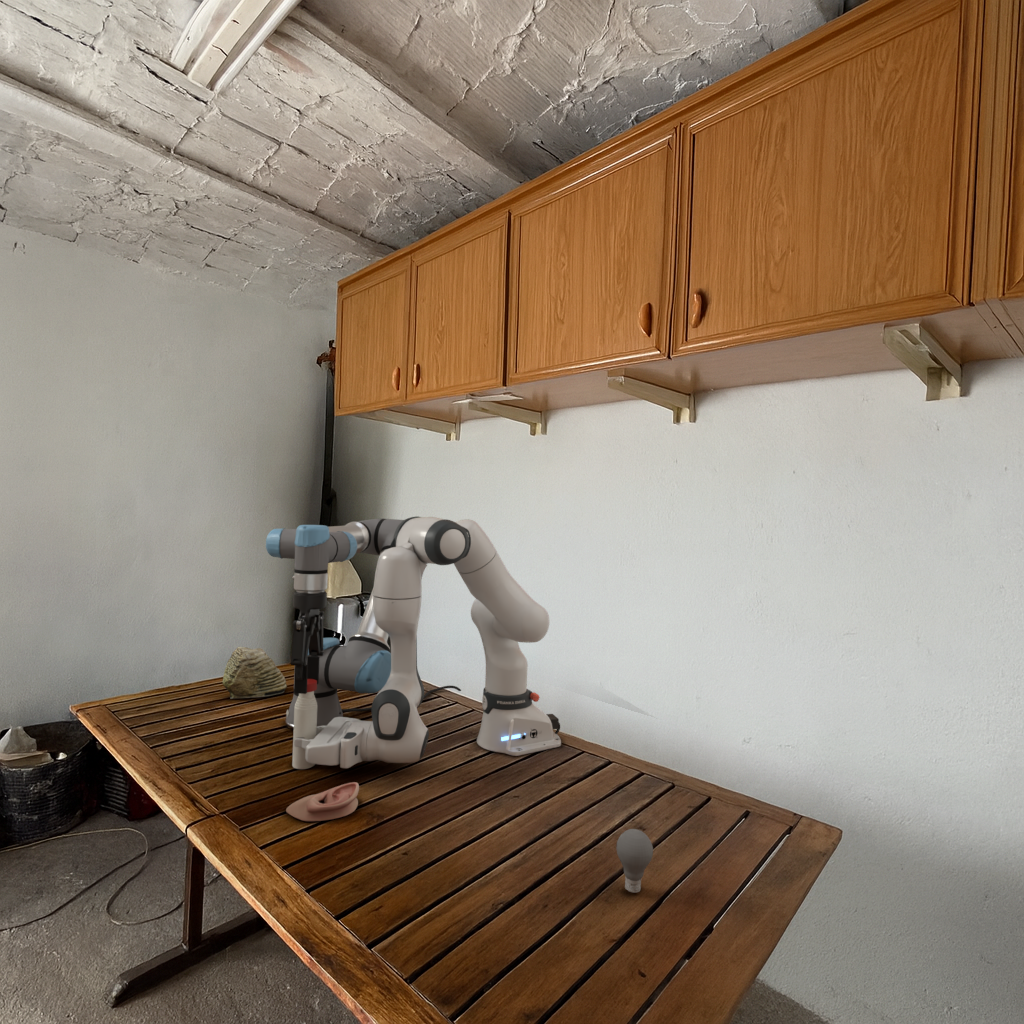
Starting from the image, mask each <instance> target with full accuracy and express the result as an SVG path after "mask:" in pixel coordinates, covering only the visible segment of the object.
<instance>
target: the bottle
mask: <svg viewBox="0 0 1024 1024" xmlns="http://www.w3.org/2000/svg"><path fill="white" fill-rule="evenodd" d="M316 730H317V702H316V698H315V695H314V691H312V692H307V693H306V694H300V693H299V696H298V698H297V701H296V703H295V706H294V730H292V731H293V736H292V759H291V761H292V762H291V766H292V768H293V769H296V770H307V769H310V768H313V767H314V766H316V764H312V763H309V762H307V761H306V760H305V753H306V749H304V748H302V747H295V745H294V742H295V739H296V738H298V737H304V739H307V740H310V739H314V738H315V737H316V736H317V735H316Z"/></svg>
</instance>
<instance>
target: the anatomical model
mask: <svg viewBox="0 0 1024 1024" xmlns="http://www.w3.org/2000/svg"><path fill="white" fill-rule="evenodd" d="M359 792H360V785H359V783H358V782H355V781H352V782H347V783H344V784H341V785H338V786H335V787H332V788H329V789H327V790H324V791H321V792H319V793H316V794H311V795H307V796H304V797H302V798H300V799H298V800H296V801H294V802H293V803H291V804H289V806H287V807H286V809H285V812H286V813H287V814H288V815H289V816H291V817H293V818H295V819H297V820H300V821H303V822H321V821H329V820H334V819H339V818H342V817H346V816H348V815H351V814H353V812H355V811H356V809H357V808H358V805H359V799H358V798H357V796H358V795H359Z"/></svg>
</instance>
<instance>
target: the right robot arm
mask: <svg viewBox="0 0 1024 1024" xmlns="http://www.w3.org/2000/svg"><path fill="white" fill-rule="evenodd" d="M403 520H404V521H402V522H401V523H400V524H399V525H398V527H397V529H396V531H395V533H394V537H393V540H392V542H391V548H389V549H387V550H385V551H383V552H382V553H381V554H380V556H379V555H378V556H379V557H378V559H377V562H376V567H375V573H374V580H373V587H374V590H373V589H372V590H373V610H374V617H375V622H376V624H377V625H378V626H379V627H380V628H381V629H382V630H383V631H385V632H387V633H388V635H389V636H388V638H389V640H390V653H391V673H390V676H389V678H388V680H387V682H386V684H385V685H384V687H383V688H382V689H381V690H380V691H378V692H377V694H376V695H375V697H373V700H372V704H371V707H372V708H371V707H370V708H371V710H370V711H371V719H372V720H361V719H359V718H354V717H347V716H343V717H335V718H333V719H332V720H331V721H330V723H329V724H328V725H327V726H324V725H323V726H318V727H317V730H316V737H315V738H314V739H310V740H307V739H304V737H298V738H296V739H295V742H294V745H295V747H302V748H304V749H306V753H305V760H306V761H307V762H309V763H312V764H315V765H321V766H338V765H339V767H340V768H341V769H349V768H351V767H353V766H354V765H356V764H359V763H362V762H374V761H381V762H384V763H389V764H411V763H416V762H419V761H420V760H421V759H422V758H423V757H424V755H425V753H426V749H427V746H428V743H429V737H430V731H429V728H428V727H427V726H426V725H425V724H424V721H423V720H422V718H421V716H420V714H419V711H418V708H419V707H420V706H421V704H422V702H424V701H423V700H424V699H425V698H424V695H425V687H424V683H423V681H422V678H421V677H420V673H419V670H418V635H417V634H418V629H419V623H420V617H421V608H422V595H423V594H422V588H423V587H422V579H423V575H424V572H425V570H426V568H427V567H428V564H431V565H432V564H433V565H437V566H450V565H454V567H455V569H456V571H457V572H458V574H459V576H460V577H461V579H462V581H463V582H464V584H465V586H466V587H467V590H468V591H469V593H470V594H471V595H472V596H473V597H474V598H475V599H474V601H473V602H472V604H471V608H470V617H471V620H472V622H473V624H474V625H475V627H476V629H477V631H478V634H479V637H480V639H481V644H482V647H483V651H484V659H485V675H484V677H485V678H484V679H485V680H484V682H485V683H484V688H483V691H482V692H483V693H482V699H481V701H482V702H481V705H482V717H481V723H480V728H479V731H478V735H477V737H476V744H477V745H478V746H479V747H481V748H482V749H484V750H487V751H490V752H496V753H501V754H505V755H509V756H513V757H517V756H518V757H519V756H523V755H527V754H533V753H537V752H542V751H545V750H551V749H554V748H559V747H561V746H562V740H561V737H560V736H559V732H560V730H561V724H560V722H559V718H558V717H557V716H556V715H555V714H554V713H545V712H544V711H543V710H541V708H539V707H538V706H537V705H535V704H534V703H537V702H539V700H540V699H541V697H540V695H539V694H538V693H536V692H535V691H531V690H530V689H528V688H527V687H528V669H529V668H528V667H529V666H528V665H529V664H528V660H527V658H526V656H525V654H524V653H523V651H522V650H521V647H520V645H519V643H523V644H524V643H526V644H527V643H529V644H531V643H538V642H540V641H541V640H543V639H544V638H545V637H546V635H547V633H548V632H549V628H550V615H549V612H548V610H547V609H546V608H545V607H544V606H542V605H541V604H540V603H539V602H537V601H535V599H533V597H531V596H530V595H529V593H527V591H526V590H525V589H524V588H523V587H522V586H521V585H520V584H519V582H518V581H517V579H515V578H514V577H513V576H512V574H511V573H510V571H509V570H508V569H507V567H506V565H505V563H504V561H503V559H502V558H501V556H500V554H499V552H498V551H497V549H496V547H495V545H494V544H493V542H492V541H491V539H490V537H489V536H488V535H487V533H486V532H485V530H484V529H483V528H482V527H481V525H479V523H478V522H476V520H473V519H470V518H468V519H467V518H464V519H460V520H457V521H454V520H451V519H447V518H446V519H444V518H442V517H441V518H440V517H436V516H411V517H408V518H405V519H403ZM392 546H393V547H392ZM423 698H424V699H423ZM533 702H534V703H533ZM554 730H555V731H554Z"/></svg>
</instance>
